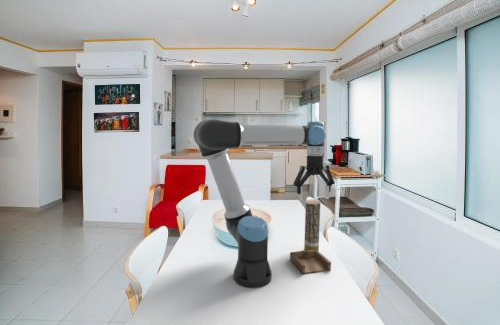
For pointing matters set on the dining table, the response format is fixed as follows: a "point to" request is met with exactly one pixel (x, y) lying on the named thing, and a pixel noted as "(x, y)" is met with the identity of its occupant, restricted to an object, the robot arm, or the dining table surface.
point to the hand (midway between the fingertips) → (313, 199)
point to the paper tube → (312, 225)
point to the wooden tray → (310, 261)
